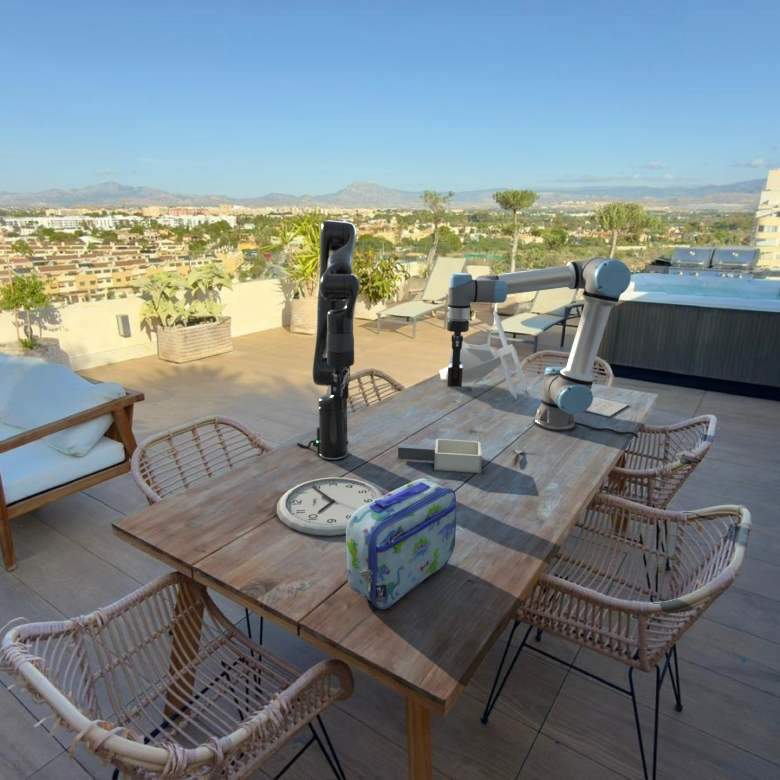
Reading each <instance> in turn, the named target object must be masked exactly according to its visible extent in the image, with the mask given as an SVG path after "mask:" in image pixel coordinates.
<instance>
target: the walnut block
mask: <svg viewBox="0 0 780 780" xmlns="http://www.w3.org/2000/svg"><path fill="white" fill-rule="evenodd" d="M447 365H448V366H447V367H448V382H447V385H446V387H449V388H452V387H451V372H452V369H450V367H452V364H449V363H448V364H447ZM462 372H463V365H460V370H459V387H458V388H462V387H463V383H462Z"/></svg>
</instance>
